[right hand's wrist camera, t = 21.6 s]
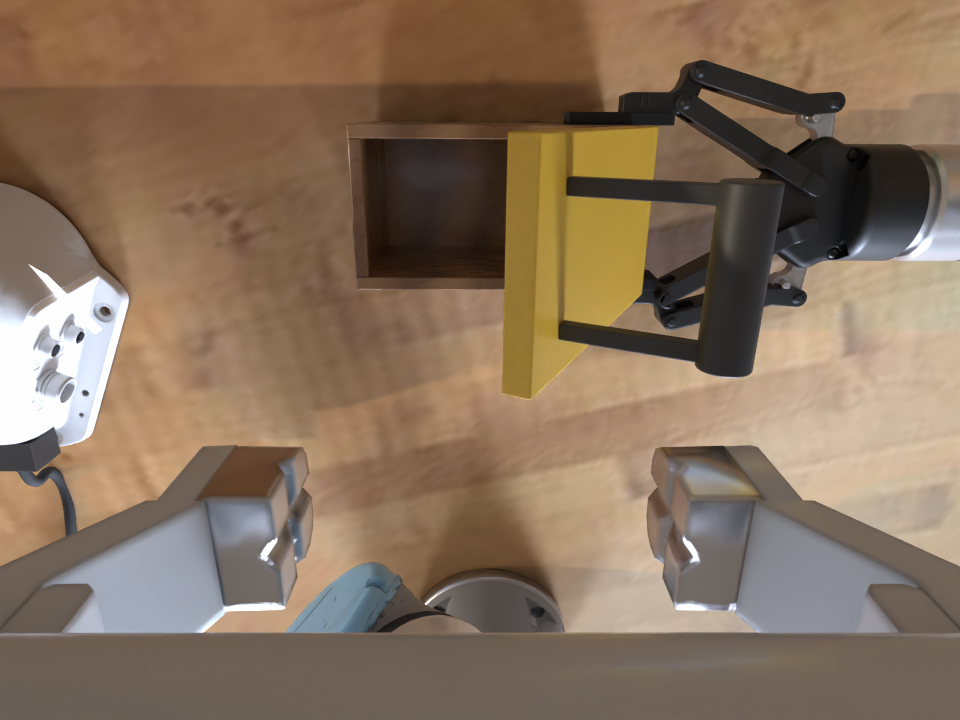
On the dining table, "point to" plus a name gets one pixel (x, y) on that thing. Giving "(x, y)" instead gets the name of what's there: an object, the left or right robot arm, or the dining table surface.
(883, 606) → the right robot arm
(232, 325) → the dining table surface
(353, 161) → the chest
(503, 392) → the lid
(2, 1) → the dining table surface
